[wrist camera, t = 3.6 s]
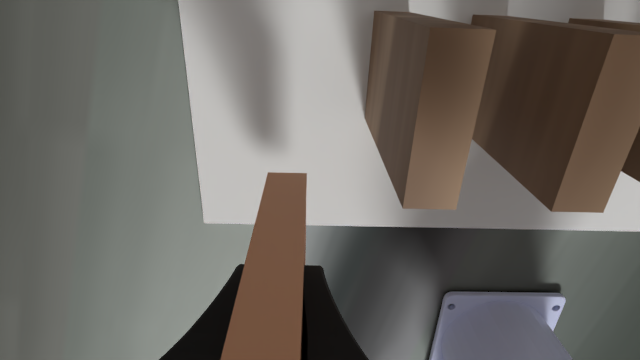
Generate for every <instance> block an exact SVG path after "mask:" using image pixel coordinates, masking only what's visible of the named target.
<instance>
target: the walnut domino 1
mask: <svg viewBox="0 0 640 360" xmlns="http://www.w3.org/2000/svg"><path fill="white" fill-rule="evenodd" d="M495 34H496V30H495V29H490V28H485V27H480V26H476V25H471V24H466V23H461V22H456V21H451V20H446V19H441V18H436V17H432V16H427V15H422V14H417V13H412V12H397V11H374V19H373V30H372V41H371V52H370V63H369V74H368V85H367V96H366V107H365V121H366V123H367V125H368V128H369V130H370V132H371V135H372V137H373V140H374V142H375V144H376V147H377V149H378V151H379V154H380V156H381V159H382V161H383V163H384V166H385V168H386V170H387V173H388V175H389V177H390V180H391V182H392V185H393V187H394V189H395V192H396V194H397V196H398V199H399V201H400V204H401V206H402V208H403V209H445V210H456V207H457V203H458V199H459V194H460V190H461V185H462V181H463V176H464V172H465V167H466V163H467V159H468V154H469V150H470V145H471V141H472V136H473V132H474V127H475V123H476V119H477V114H478V110H479V105H480V101H481V96H482V92H483V87H484V83H485V79H486V74H487V70H488V65H489V61H490V56H491V52H492V47H493V43H494V39H495Z"/></svg>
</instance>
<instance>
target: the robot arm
mask: <svg viewBox="0 0 640 360" xmlns="http://www.w3.org/2000/svg"><path fill="white" fill-rule="evenodd" d="M244 265H245V264H240V265H238V266H237V267H236V269H235V271H234V272H233V274H232V275H231V277H230V278H229V280H228V281H227V283H226V284H225V286H224V287H223V289H222V290H221V291H220V293H219V294H218V295H217V297H216V298H215V299H214V301H213V302H212V303H211V304H210V306H209V307H208V308H207V310H206V311H205V312H204V313H203V314H202V316H201V317H200V318H199V319H198V320H197V321H196V323H195V324H194V325H193V326H192V327H191V328H190V329H189V330H188V332H187V333H186V334H185V335H184V336H183V337H182V338H181V339H180V340H179V341H178V342H177V343H176V344H175V345H174V346H173V347H172V348H171V349H170V350H169V351H168V352H167V353H166V354H165V355H163V356H162V357H161V358H160V359H159V360H221V356H222V352H223V348H224V344H225V340H226V336H227V332H228V328H229V324H230V320H231V316H232V312H233V308H234V304H235V300H236V296H237V292H238V288H239V285H240V281H241V277H242V273H243V269H244ZM565 302H566V299H565V297H564V296H563V295H562V294H561V293H533V292H457V291H452V292H448V293H446V294H445V296H444V298H443V302H442V306H441V311H440V315H439V319H438V323H437V328H436V332H435V336H434V340H433V345H432V349H431V353H430V357H429V360H573V359H572V358H571V356H570V355H569V353H568V352H567V351H566V349H565V348H564V346H563V345H562V343H561V342H560V341H559V339H558V338H557V336H556V335H555V334H554V332H553V330H554V328H555V325H556V323H557V321H558V318H559V316H560V314H561V311H562V309H563V307H564V304H565ZM450 304H452V305H450ZM302 360H369V359H368V358H367V357H366V355H365V354H364V352H363V351H362V349H361V348H360V346H359V345H358V343H357V342H356V340H355V339H354V337H353V335H352V334H351V332H350V330H349V329H348V327H347V325H346V323H345V322H344V320H343V318H342V316H341V314H340V312H339V310H338V308H337V306H336V304H335V302H334V299H333V297H332V295H331V292H330V290H329V287H328V284H327V282H326V278H325V275H324V270H323V268H322V267H321V266H308V265H304V283H303V336H302Z"/></svg>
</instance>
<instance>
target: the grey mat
mask: <svg viewBox="0 0 640 360" xmlns="http://www.w3.org/2000/svg"><path fill="white" fill-rule="evenodd" d="M178 3H179V11H180V20H181V28H182V37H183V46H184V54H185V63H186V71H187V80H188V89H189V97H190V106H191V114H192V123H193V131H194V140H195V149H196V157H197V166H198V174H199V183H200V191H201V200H202V209H203V217H204V223H220V224H255V221H256V217H257V213H258V209H259V205H260V202H261V198H262V194H263V190H264V186H265V182H266V178H267V174H268V172H276V173H307V191H306V225H326V226H379V227H432V228H484V229H537V230H590V231H640V182H639V181H637V180H635V179H634V178H632V177H630V176H628V175H627V174H625V173H623V172H620V175H619V177H618V179H617V182H616V184H615V186H614V189H613V191H612V193H611V196H610V198H609V200H608V203H607V205H606V207H605V210H604V212H603V213H590V212H551V211H550V210H549V209H548V208H547V207H546V206H545V205H543V204H542V203H541V202H540V201H539V200H538V199H537V198H536V197H535V196H534V195H533V194H531V193H530V192H529V191H528V190H527V189H526V188H525V187H524V186H523V185H522V184H521V183H519V182H518V181H517V180H516V179H515V178H514V177H513V176H512V175H511V174H510V173H509V172H507V171H506V170H505V169H504V168H503V167H502V166H501V165H500V164H499V163H498V162H497V161H495V160H494V159H493V158H492V157H491V156H490V155H489V154H488V153H487V152H486V151H484V150H483V149H482V148H481V147H480V146H479V145H478V144H477V143H476V142H475V141H474V140H472V141H471V145H470V150H469V154H468V159H467V163H466V167H465V172H464V176H463V181H462V185H461V190H460V194H459V199H458V203H457V207H456V210H445V209H403V208H402V206H401V204H400V201H399V199H398V196H397V194H396V192H395V189H394V187H393V185H392V182H391V180H390V177H389V175H388V173H387V170H386V168H385V166H384V163H383V161H382V159H381V156H380V154H379V151H378V149H377V147H376V144H375V142H374V140H373V137H372V135H371V132H370V130H369V128H368V125H367V123H366V121H365V107H366V96H367V85H368V74H369V63H370V52H371V41H372V30H373V19H374V11H397V12H412V13H417V14H422V15H427V16H432V17H436V18H441V19H446V20H451V21H456V22H461V23H466V24H471V21H472V16H473V14H475V15H501V16H514V17H522V18H530V19H538V20H546V21H555V22H563V23H568V22H569V18H578V19H604V20H615V21H625V22H636V23H640V0H178Z"/></svg>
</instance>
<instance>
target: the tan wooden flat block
mask: <svg viewBox="0 0 640 360" xmlns="http://www.w3.org/2000/svg"><path fill="white" fill-rule="evenodd" d="M306 191H307V173H276V172H268V174H267V178H266V182H265V186H264V190H263V194H262V198H261V202H260V205H259V209H258V213H257V217H256V221H255V225H254V229H253V233H252V237H251V241H250V245H249V249H248V253H247V257H246V261H245V265H244V269H243V273H242V277H241V281H240V285H239V288H238V292H237V296H236V300H235V304H234V308H233V312H232V316H231V320H230V324H229V328H228V332H227V336H226V340H225V344H224V348H223V352H222V356H221V360H302V336H303V283H304V265H305V248H306Z"/></svg>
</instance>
